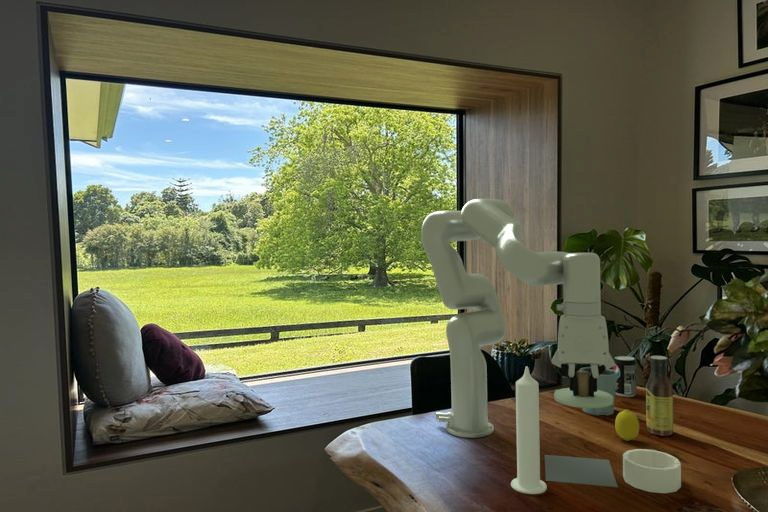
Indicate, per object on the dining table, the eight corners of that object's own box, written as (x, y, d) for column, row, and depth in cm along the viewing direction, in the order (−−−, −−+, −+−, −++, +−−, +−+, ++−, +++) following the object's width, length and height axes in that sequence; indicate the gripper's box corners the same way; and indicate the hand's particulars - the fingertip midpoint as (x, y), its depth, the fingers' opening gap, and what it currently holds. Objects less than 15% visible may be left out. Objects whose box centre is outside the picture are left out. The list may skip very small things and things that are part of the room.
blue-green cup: (573, 408, 162) (572, 368, 162) (601, 404, 165) (600, 365, 165) (596, 418, 152) (595, 376, 152) (625, 414, 155) (625, 372, 155)
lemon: (642, 446, 131) (641, 413, 131) (617, 445, 132) (617, 412, 132) (636, 438, 137) (635, 406, 136) (612, 436, 138) (612, 405, 137)
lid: (555, 406, 113) (554, 377, 112) (553, 390, 124) (552, 365, 124) (617, 409, 109) (616, 380, 109) (609, 393, 121) (608, 367, 121)
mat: (545, 482, 113) (545, 480, 113) (544, 456, 126) (544, 454, 126) (618, 489, 109) (618, 487, 109) (608, 461, 123) (608, 459, 123)
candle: (540, 479, 114) (538, 362, 114) (551, 495, 107) (549, 370, 107) (507, 480, 114) (505, 363, 113) (516, 496, 107) (514, 371, 106)
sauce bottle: (649, 427, 144) (649, 353, 144) (675, 431, 140) (675, 355, 140) (643, 434, 139) (642, 357, 139) (670, 439, 135) (669, 360, 135)
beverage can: (613, 391, 179) (613, 355, 178) (635, 393, 176) (635, 356, 176) (614, 396, 172) (613, 359, 172) (637, 398, 170) (636, 360, 170)
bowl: (628, 491, 108) (627, 466, 108) (620, 470, 118) (620, 447, 118) (686, 497, 105) (686, 471, 105) (672, 474, 115) (672, 451, 115)
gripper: (542, 311, 115) (544, 397, 115) (625, 312, 110) (626, 401, 111) (542, 307, 122) (543, 388, 123) (620, 308, 118) (621, 391, 118)
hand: (583, 393), depth 117 cm, fingers closed on lid, 2 cm apart
